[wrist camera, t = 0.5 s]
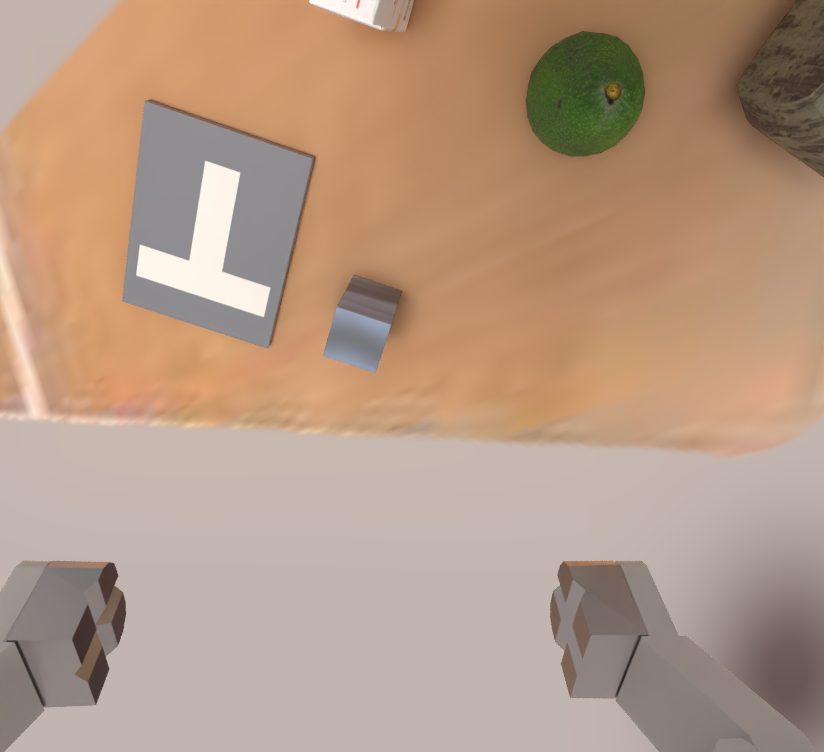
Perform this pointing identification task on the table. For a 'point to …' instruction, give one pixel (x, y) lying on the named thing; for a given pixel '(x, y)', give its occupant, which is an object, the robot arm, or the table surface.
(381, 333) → the slate-blue block
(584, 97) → the fruit
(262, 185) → the letter board
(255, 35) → the table surface
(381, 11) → the ink cartridge box
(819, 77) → the olive bag
